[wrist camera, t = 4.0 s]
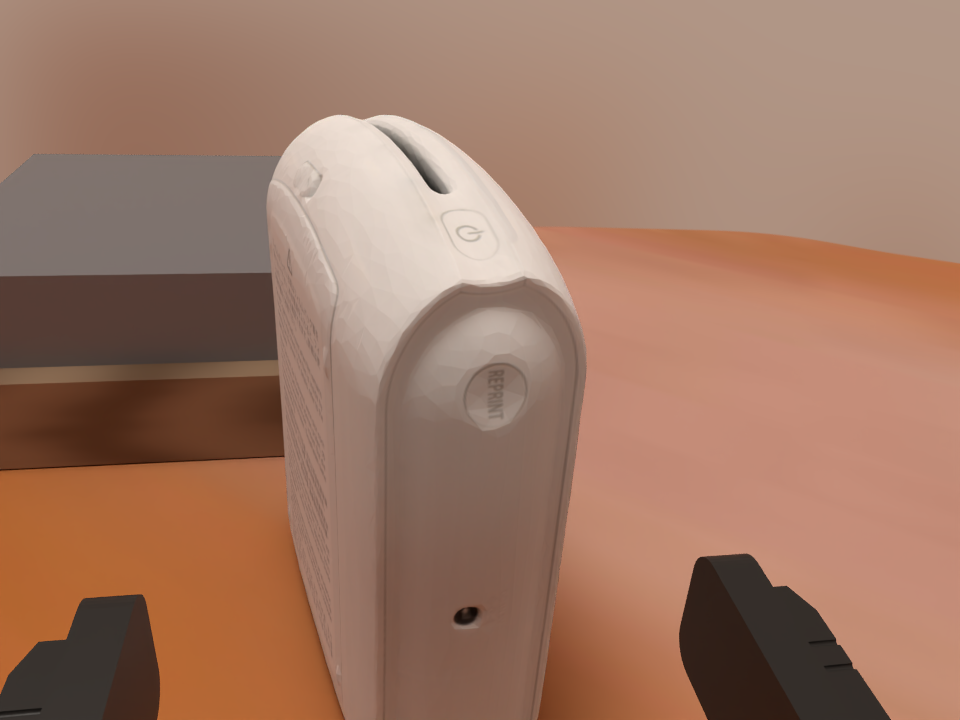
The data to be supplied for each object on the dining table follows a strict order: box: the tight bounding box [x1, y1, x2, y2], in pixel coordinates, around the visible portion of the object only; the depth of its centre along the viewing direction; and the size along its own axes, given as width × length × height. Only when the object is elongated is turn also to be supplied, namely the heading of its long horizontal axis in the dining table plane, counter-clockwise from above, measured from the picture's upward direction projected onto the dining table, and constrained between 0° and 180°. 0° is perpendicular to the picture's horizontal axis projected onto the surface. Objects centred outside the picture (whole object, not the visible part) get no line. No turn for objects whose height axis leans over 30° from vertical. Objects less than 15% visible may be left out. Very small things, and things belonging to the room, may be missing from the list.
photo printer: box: [266, 115, 586, 720], centre depth 18 cm, size 10×4×12 cm, turn 22°
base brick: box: [0, 360, 285, 469], centre depth 32 cm, size 15×15×3 cm
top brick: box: [0, 154, 282, 368], centre depth 31 cm, size 13×13×3 cm
